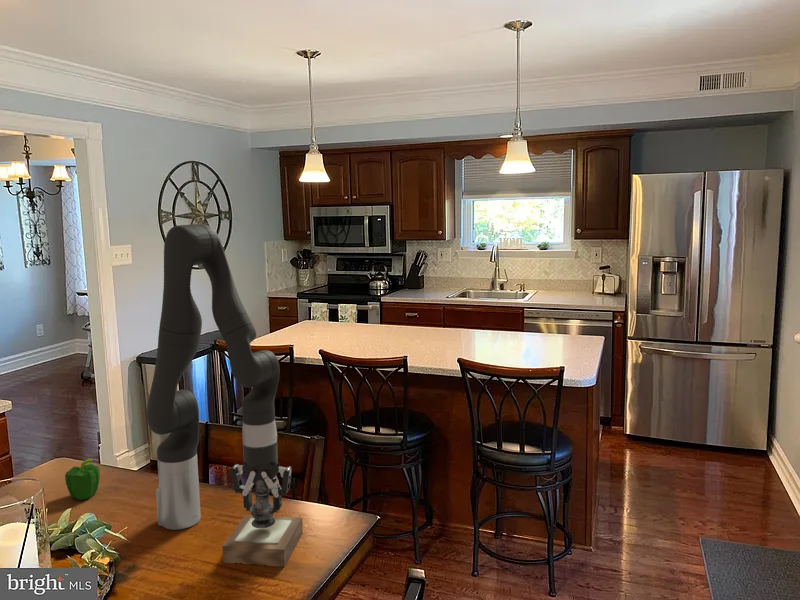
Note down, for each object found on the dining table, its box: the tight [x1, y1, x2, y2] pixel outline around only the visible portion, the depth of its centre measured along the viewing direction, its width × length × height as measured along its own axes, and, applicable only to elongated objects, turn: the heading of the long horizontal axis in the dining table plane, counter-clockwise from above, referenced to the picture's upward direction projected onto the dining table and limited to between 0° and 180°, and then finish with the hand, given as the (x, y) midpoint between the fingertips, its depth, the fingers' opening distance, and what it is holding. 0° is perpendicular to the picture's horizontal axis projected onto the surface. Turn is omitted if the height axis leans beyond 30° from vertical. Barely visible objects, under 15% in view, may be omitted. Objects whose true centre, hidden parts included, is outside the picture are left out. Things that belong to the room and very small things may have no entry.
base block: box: [222, 514, 304, 568], centre depth 140 cm, size 14×14×4 cm
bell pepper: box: [64, 458, 101, 501], centre depth 166 cm, size 8×8×10 cm
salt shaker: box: [249, 480, 275, 528], centre depth 138 cm, size 6×6×12 cm
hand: (263, 509), depth 139 cm, fingers closed on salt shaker, 6 cm apart
